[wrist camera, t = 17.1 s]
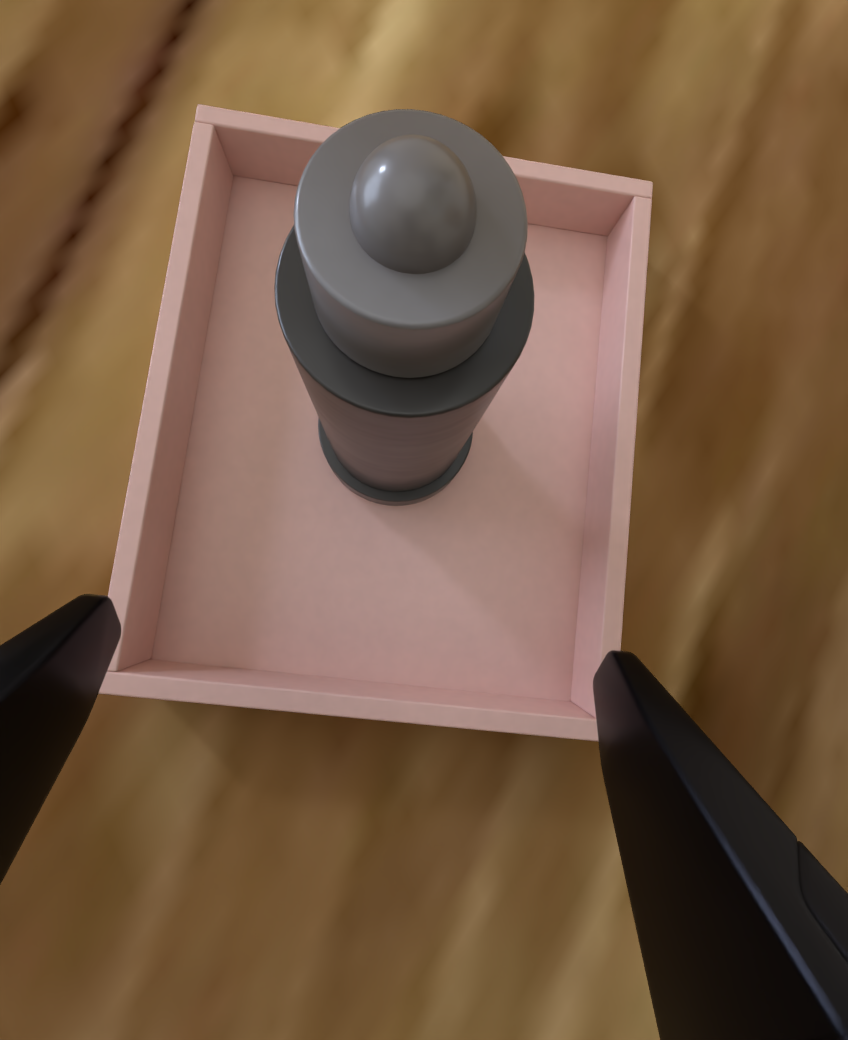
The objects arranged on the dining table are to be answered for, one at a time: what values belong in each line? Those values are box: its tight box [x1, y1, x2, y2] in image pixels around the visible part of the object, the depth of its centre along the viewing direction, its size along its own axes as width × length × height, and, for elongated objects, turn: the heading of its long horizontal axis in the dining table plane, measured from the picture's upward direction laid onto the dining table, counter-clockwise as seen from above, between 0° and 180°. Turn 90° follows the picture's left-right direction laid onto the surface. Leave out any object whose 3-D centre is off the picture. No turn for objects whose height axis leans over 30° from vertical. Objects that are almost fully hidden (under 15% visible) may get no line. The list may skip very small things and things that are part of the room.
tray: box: [98, 104, 653, 741], centre depth 16 cm, size 17×14×2 cm
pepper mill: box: [274, 109, 535, 506], centre depth 11 cm, size 5×5×11 cm
